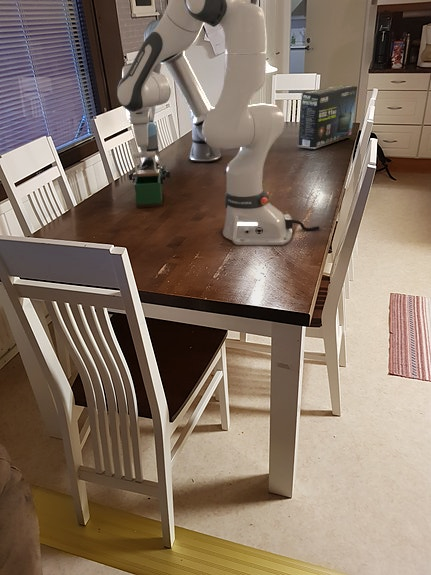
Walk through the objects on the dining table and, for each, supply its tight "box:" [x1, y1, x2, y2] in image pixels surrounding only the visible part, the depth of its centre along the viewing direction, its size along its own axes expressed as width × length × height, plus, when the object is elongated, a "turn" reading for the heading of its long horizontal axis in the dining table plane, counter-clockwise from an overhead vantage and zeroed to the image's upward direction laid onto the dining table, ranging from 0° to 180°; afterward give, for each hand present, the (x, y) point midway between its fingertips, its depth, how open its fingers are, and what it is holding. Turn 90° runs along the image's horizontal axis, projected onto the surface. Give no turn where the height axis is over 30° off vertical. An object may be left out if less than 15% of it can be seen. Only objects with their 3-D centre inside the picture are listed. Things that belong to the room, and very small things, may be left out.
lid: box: [132, 151, 160, 177], centre depth 172 cm, size 14×9×8 cm, turn 5°
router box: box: [297, 84, 358, 151], centre depth 238 cm, size 36×11×27 cm, turn 134°
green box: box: [133, 173, 163, 209], centre depth 177 cm, size 14×9×9 cm
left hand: (148, 181), depth 178 cm, fingers closed on green box, 9 cm apart
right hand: (144, 153), depth 167 cm, fingers closed on lid, 2 cm apart
